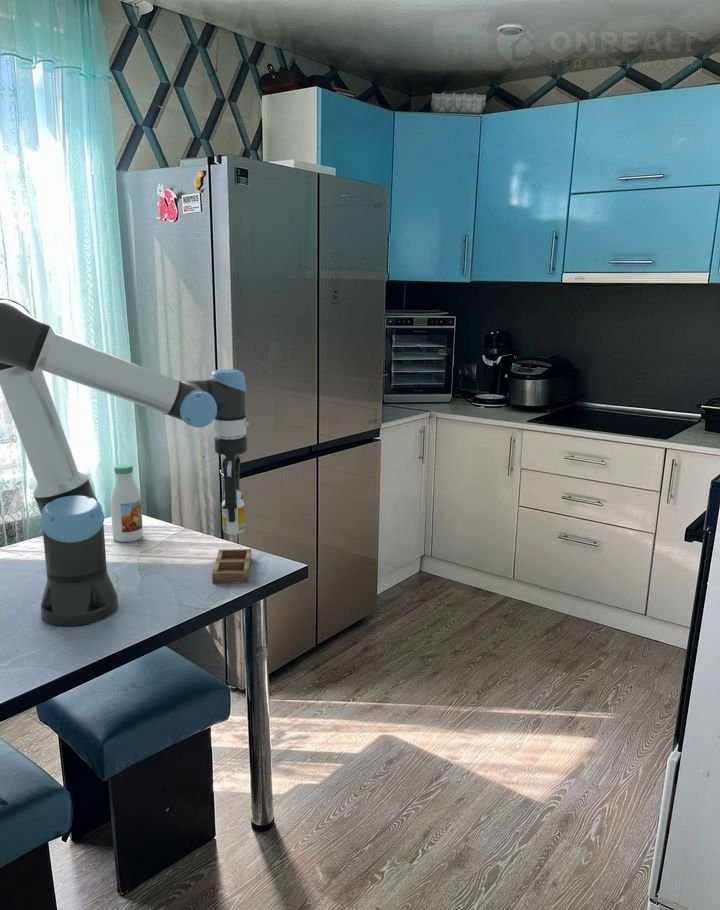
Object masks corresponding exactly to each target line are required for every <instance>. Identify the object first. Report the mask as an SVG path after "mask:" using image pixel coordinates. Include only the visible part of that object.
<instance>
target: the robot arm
mask: <svg viewBox="0 0 720 910" xmlns="http://www.w3.org/2000/svg"><path fill="white" fill-rule="evenodd" d="M43 371H44V372H47V373H49V374H52V375H55V376H58V377H61V378H63V379H66V380H69V381H71V382H75V383H78V384H79V385H83V386H86V387H88V388H91V389H94V390H97V391H100V392H102V393H105V394H108V395H111V396H113V397H117V398H119V399H122V400H125V401H128V402H131V403H134V404H135V405H139V406H142V407H145V408H147V409H149V410H150V409H151V410H152V411H156V412H158V413H162V415H164V416H168V417H171V418H174V419H177V420H180V421H182V422H184V423H185V424H187V425H188V426H190V427H194V428H204V427H207V426H209V425H210V424H212V423H213V435H214V436H215V437H214V451H215V453H216V454H218V455H223V456H224V457H225V458H223V459H222V460H223V461H222V463H221V464H222V471H223V481H224V482H223V483H224V484H223V486H224V492H225V497H224V500H225V506H223V509H226V526H227V533H226V535H239V533H238V507H237V490H239V491H241V489H240V484H241V483H240V474H241V458H240V455H242V454H244V453H246V452H247V451H248V437H247V436H246V434H247V427H248V426H249V425H250V423H249V421H246V420H247V413H246V412H247V411H246V410H247V409H246V404H247V403H246V402H247V401H246V400H247V399H246V395H247V394H246V392H247V389H246V381H245V379H246V378H245V374H244V372H243V371H242V370H238V369H233V368H232V369H231V368H229V369H228V368H227V369H226V368H225V369H215V370H213V371H212V372H211V378H210V379H204V380H202V379H201V380H177V379H175V378H172V377H170V376H167V375H165V374H161V373H159V372H156V371H154V370H151V369H149V368H146V367H143V366H141V365H138V364H136V363H133V362H130V361H128V360H125V359H124V358H120V357H118V356H115V355H112V354H110V353H107V352H105V351H103V350H99V349H97V348H94V347H92V346H89V345H87V344H85V343H81V342H79V341H76V340H73V339H71V338H69V337H65V335H61V334H58V333H56V331H55V329H54V327H53V326H52V325H49V324H48V323H45V322H42V321H40V320H37V319H35V318H34V316H33V315H32V314H31V313H30V310H28V309H27V308H26V307H25V306H24V305H22V304H21V303H20V302H17V301H16V300H12V299H9V298H1V297H0V388H1V391H2V394H3V397H4V400H5V401H6V404H7V407H8V410H9V412H10V415H11V418H12V421H13V423H14V426H15V428H16V431H17V433H18V436H19V438H20V441H21V444H22V446H23V449H24V452H25V454H26V457H27V459H28V463H29V466H30V468H31V470H32V471H31V472H32V473H33V476H34V479H35V481H36V483H37V486H36V487H35V489H34V490H33V493H32V494H33V497H34V499H35V503H36V504H37V507H38V508H37V509H38V511H39V513H40V515H41V518H40V526H41V527H40V528H41V529H42V537H43V538H42V539H43V540H42V541H43V547H44V548H43V550H44V559H45V568H46V569H45V570H46V583H45V587H44V591H43V594H42V598H41V603H40V617H41V619H42V620H43V621H44V622H45V623H47V624H50V625H53V626H57V627H59V626H60V627H75V626H76V627H77V626H78V627H79V626H83V625H84V626H85V625H88V624H89V625H90V624H93V623H96V622H99V621H102V620H105V619H106V618H108V617H110V616H111V615H113V614H114V613H115V612H116V611H117V609H118V608H119V601H118V599H119V598H118V594H117V591H116V588H115V587H114V585H113V582H112V580H111V577H110V576H109V574H108V568H107V566H108V565H107V556H106V555H107V553H106V542H105V541H106V540H105V538H106V537H105V527H104V526H105V525H104V522H105V514H104V511H103V507H102V505H101V503H100V502H99V500H98V498H97V497H96V496H95V494H94V490H93V487H92V485H91V483H90V479H89V477H88V475H86V474H85V473H82V472H79V470H78V467H77V465H76V462H75V459H74V456H73V454H72V451H71V447H70V445H69V443H68V439H67V436H66V434H65V431H64V429H63V426H62V422H61V420H60V416H59V414H58V411H57V408H56V406H55V404H54V400H53V398H52V395H51V391H50V389H49V387H48V383H47V381H46V379H45V378H46V377H45V376H44V372H43ZM240 499H242V500H243V494H241V498H240Z"/></svg>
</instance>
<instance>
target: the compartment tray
mask: <svg viewBox="0 0 720 910" xmlns="http://www.w3.org/2000/svg"><path fill="white" fill-rule="evenodd" d="M251 558H253V557H252V549H251V548H245V549H244V548H243V549H235V548H234V549H233V548H232V549H218V552H217V555H216V560H215V563H214V566H213V569H212V573H211V579H212V580H211V582H212V584H213V585H214V584H215V585H216V584H237V583H236V582H249V577H250V576H249V575H250V571H249V570H251V565H250V564H251V563H252V559H251ZM248 576H249V577H248ZM234 582H235V583H234Z"/></svg>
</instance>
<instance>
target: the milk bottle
mask: <svg viewBox="0 0 720 910" xmlns="http://www.w3.org/2000/svg"><path fill="white" fill-rule="evenodd" d="M113 470H114V475H115V480H114V484H113V487H112V489H111V493H110V517H111V530H112V531H111V533H112V538H113V540H114V541H116V542H118V543H119V542H120V543H130V542H135V541H139V540H140V539H141V538H142V537H143V535H144V533H143V532H144V531H143V530H144V529H143V517H142V515H143V514H142V512H143V511H142V502H141V499H142V498H141V494H140V490H139V488H138V486H137V484H136V483H135V482H136V481H134V478H133V474H134V467H133V465H132V464H127V463H126V464H125V463H123V464H118V465H115V466H114V469H113Z"/></svg>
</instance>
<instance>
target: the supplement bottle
mask: <svg viewBox="0 0 720 910" xmlns="http://www.w3.org/2000/svg"><path fill="white" fill-rule="evenodd" d="M241 495H242V491H241V490H240V491H239V490H237V507H238V534H240V533H243V532H245V530H246V519H245V518H246V517H245V516H246V514H245V512H246V511H245V502H244V500H243V498H242V499H240V498H241ZM223 496H224V498H225V491H224V494H223ZM223 506H225V499H224V500H223V501H222V502H221V518H222V519H221V520H222V521H221V522H222V531H223V532H224V533H226V534H227V526H226V509H223Z"/></svg>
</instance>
